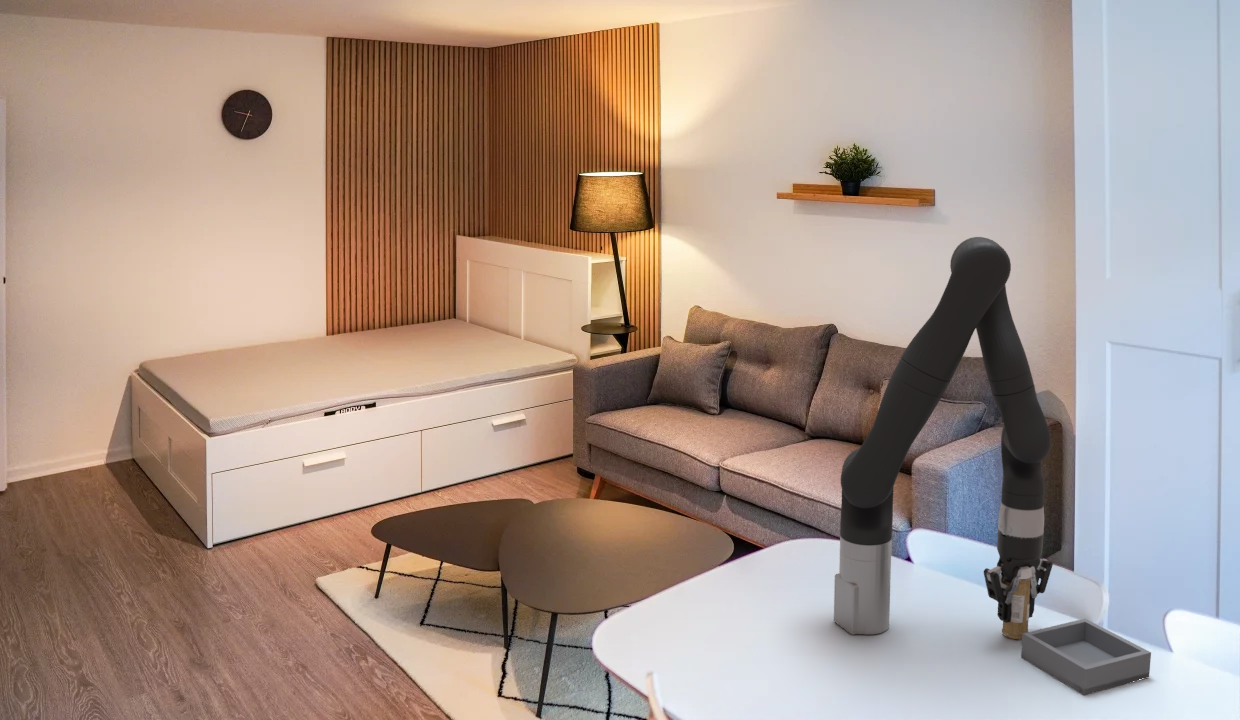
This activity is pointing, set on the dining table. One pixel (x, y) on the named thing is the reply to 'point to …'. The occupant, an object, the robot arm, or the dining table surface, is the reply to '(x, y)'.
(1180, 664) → the dining table surface
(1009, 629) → the sprinkles bottle
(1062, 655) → the bin
